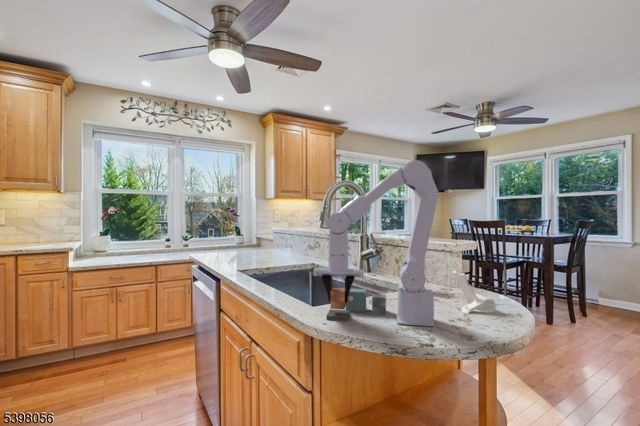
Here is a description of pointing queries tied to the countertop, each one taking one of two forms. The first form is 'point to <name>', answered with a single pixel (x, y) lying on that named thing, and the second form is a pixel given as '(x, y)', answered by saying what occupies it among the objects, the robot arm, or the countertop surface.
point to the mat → (338, 315)
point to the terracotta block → (337, 298)
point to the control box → (356, 300)
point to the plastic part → (474, 297)
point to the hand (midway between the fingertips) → (338, 301)
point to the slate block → (379, 304)
